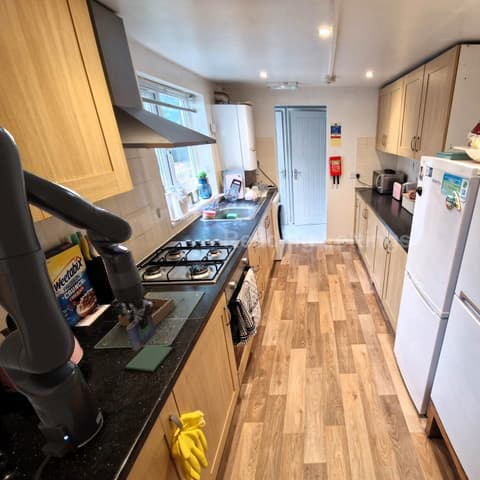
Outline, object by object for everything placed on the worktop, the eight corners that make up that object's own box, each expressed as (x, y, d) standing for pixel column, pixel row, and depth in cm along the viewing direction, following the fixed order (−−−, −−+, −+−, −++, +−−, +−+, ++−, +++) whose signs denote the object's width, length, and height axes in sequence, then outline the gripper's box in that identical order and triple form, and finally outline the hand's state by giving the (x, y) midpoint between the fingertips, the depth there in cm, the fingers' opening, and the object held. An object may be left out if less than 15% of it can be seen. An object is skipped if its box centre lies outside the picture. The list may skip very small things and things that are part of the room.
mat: (153, 371, 86) (152, 369, 86) (125, 368, 88) (125, 366, 87) (172, 348, 96) (172, 347, 95) (147, 346, 97) (147, 344, 96)
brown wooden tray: (152, 328, 106) (150, 319, 104) (120, 325, 107) (117, 316, 106) (175, 307, 119) (173, 298, 117) (146, 304, 120) (143, 296, 119)
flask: (138, 351, 84) (128, 324, 80) (129, 350, 85) (120, 324, 81) (158, 332, 93) (151, 306, 89) (150, 331, 93) (143, 306, 89)
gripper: (94, 286, 77) (111, 332, 84) (137, 289, 76) (151, 336, 82) (115, 273, 84) (130, 317, 91) (155, 276, 83) (167, 321, 89)
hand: (140, 326), depth 86 cm, fingers closed on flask, 3 cm apart
